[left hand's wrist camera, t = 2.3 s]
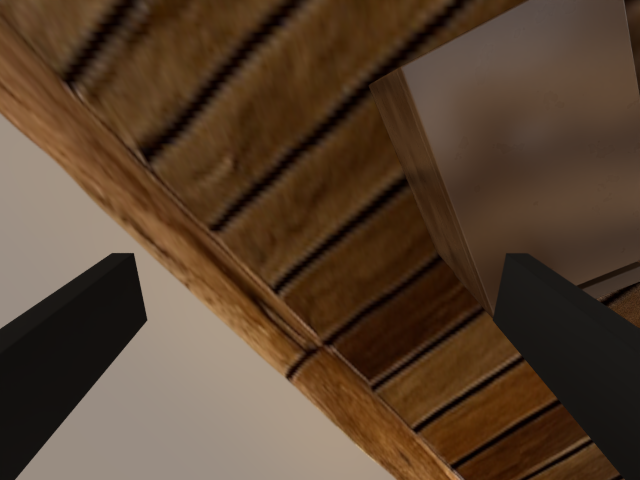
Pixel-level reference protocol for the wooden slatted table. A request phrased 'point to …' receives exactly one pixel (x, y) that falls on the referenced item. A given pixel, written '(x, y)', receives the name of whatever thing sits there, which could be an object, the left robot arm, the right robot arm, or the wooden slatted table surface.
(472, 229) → the cabinet
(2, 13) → the wooden slatted table surface
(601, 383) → the left robot arm
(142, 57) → the wooden slatted table surface
